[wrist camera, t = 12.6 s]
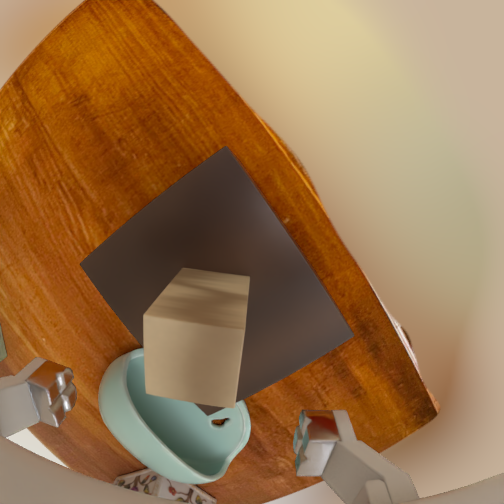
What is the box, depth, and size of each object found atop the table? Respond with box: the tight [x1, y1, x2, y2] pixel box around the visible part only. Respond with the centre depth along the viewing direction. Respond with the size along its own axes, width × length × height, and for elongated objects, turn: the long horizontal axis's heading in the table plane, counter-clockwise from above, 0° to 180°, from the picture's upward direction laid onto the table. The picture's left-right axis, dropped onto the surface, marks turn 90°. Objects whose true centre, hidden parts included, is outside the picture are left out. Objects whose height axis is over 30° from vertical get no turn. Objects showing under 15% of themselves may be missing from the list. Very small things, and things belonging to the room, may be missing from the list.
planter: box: [98, 348, 251, 484], centre depth 29 cm, size 19×7×16 cm
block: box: [143, 268, 250, 408], centre depth 16 cm, size 4×4×7 cm
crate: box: [80, 146, 354, 416], centre depth 24 cm, size 14×12×10 cm
